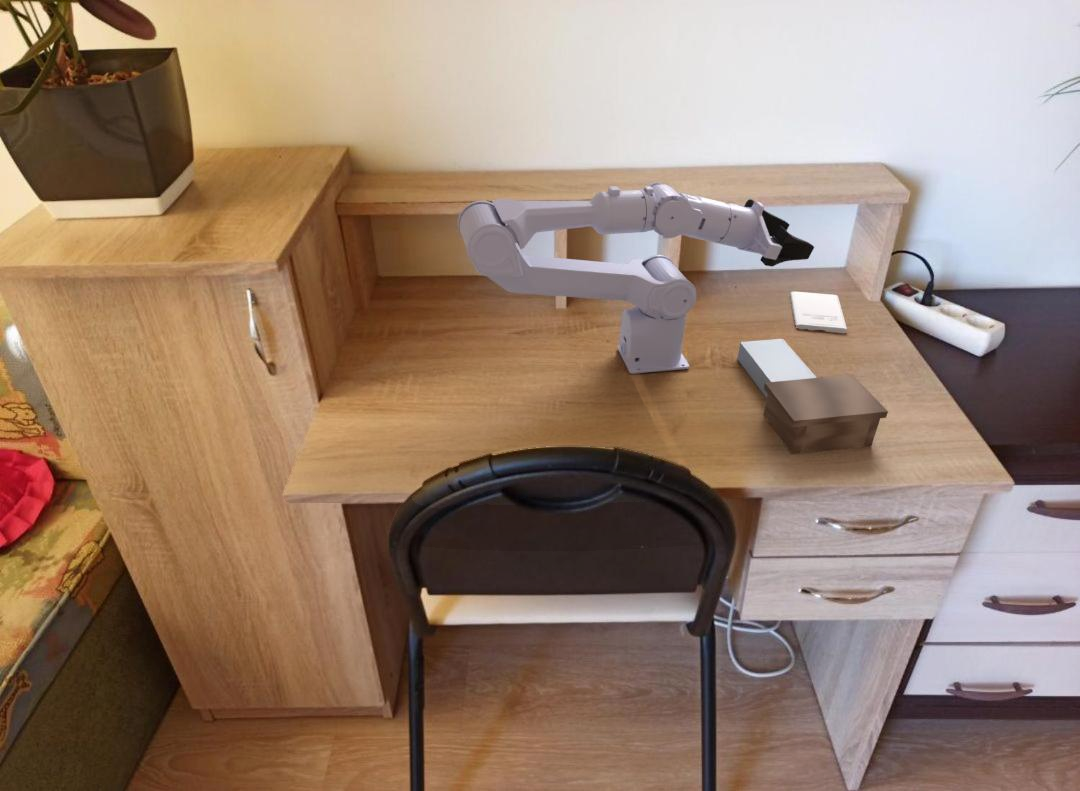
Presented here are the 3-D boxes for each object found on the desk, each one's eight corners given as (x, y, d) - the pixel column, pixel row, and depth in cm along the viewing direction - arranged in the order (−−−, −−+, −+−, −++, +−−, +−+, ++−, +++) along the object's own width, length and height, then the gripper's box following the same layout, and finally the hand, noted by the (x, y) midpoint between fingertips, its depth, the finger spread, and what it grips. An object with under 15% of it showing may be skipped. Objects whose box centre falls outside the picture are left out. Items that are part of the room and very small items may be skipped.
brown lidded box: (785, 454, 99) (794, 420, 96) (757, 415, 106) (764, 382, 103) (877, 445, 101) (888, 411, 98) (843, 406, 108) (852, 374, 105)
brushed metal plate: (775, 409, 108) (778, 391, 106) (737, 358, 119) (740, 342, 117) (820, 404, 109) (825, 387, 107) (779, 354, 120) (782, 338, 118)
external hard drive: (836, 303, 136) (845, 336, 126) (789, 299, 138) (794, 331, 128) (838, 294, 136) (847, 327, 125) (791, 290, 137) (796, 323, 127)
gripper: (753, 218, 100) (835, 237, 105) (711, 177, 112) (787, 196, 116) (731, 265, 104) (811, 281, 109) (692, 221, 115) (766, 238, 120)
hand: (797, 240), depth 113 cm, fingers open, 7 cm apart
